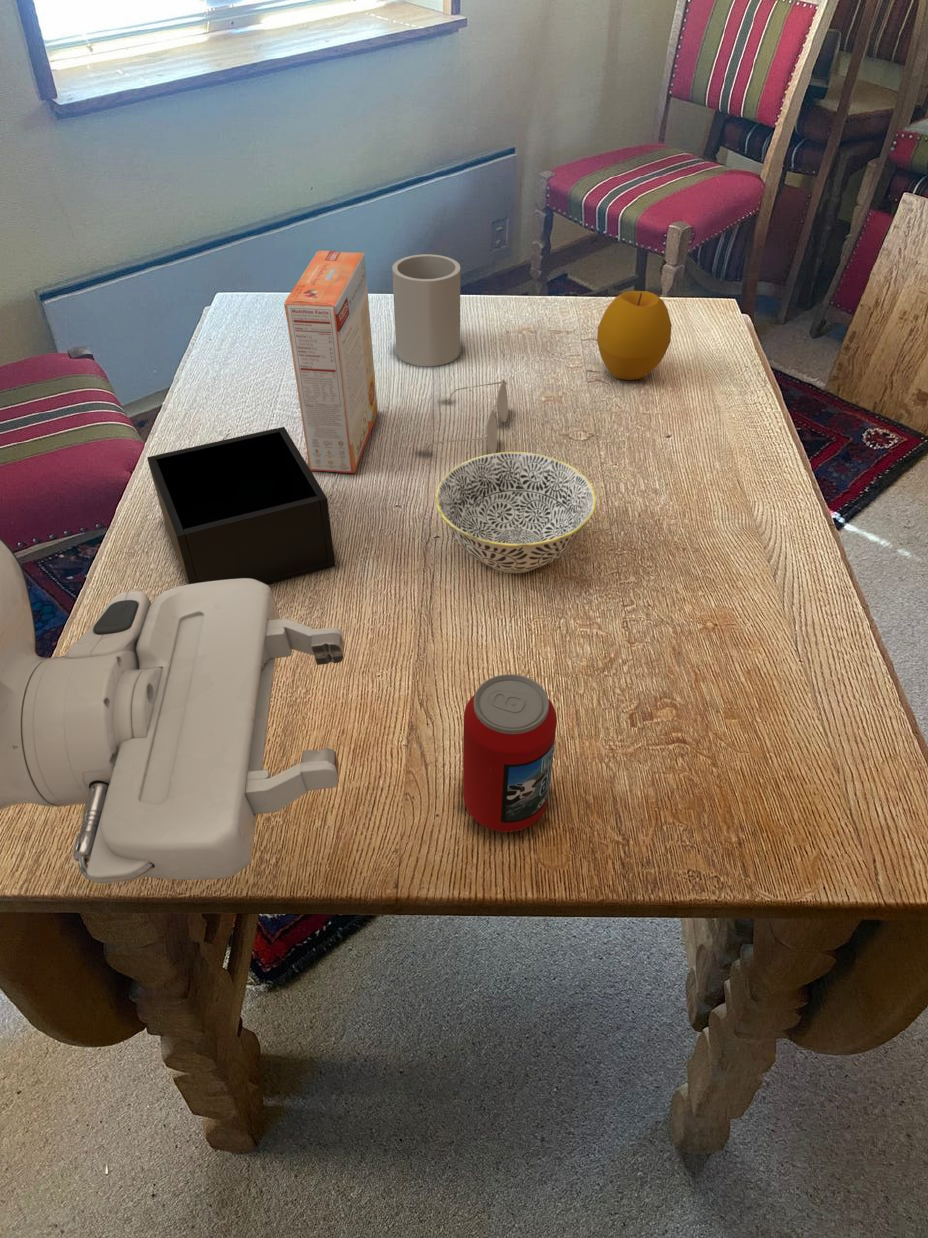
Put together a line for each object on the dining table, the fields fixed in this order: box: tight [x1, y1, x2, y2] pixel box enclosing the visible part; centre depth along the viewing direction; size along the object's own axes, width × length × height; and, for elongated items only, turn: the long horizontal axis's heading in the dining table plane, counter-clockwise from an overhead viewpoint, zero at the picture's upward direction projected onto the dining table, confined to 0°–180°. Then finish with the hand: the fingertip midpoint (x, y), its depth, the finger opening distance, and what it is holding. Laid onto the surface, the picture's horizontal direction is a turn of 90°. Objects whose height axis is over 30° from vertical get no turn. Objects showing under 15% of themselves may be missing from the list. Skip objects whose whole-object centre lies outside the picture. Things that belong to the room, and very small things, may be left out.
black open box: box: [146, 426, 336, 586], centre depth 93 cm, size 15×15×9 cm
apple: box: [596, 290, 672, 381], centre depth 120 cm, size 10×10×12 cm
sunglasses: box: [422, 379, 509, 456], centre depth 112 cm, size 14×8×5 cm, turn 168°
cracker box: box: [283, 250, 379, 474], centre depth 104 cm, size 14×6×21 cm, turn 172°
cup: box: [391, 253, 461, 367], centre depth 125 cm, size 9×9×12 cm
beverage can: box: [462, 673, 558, 833], centre depth 68 cm, size 7×7×12 cm
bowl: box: [435, 451, 597, 574], centre depth 93 cm, size 16×16×8 cm
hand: (340, 702), depth 53 cm, fingers open, 8 cm apart
